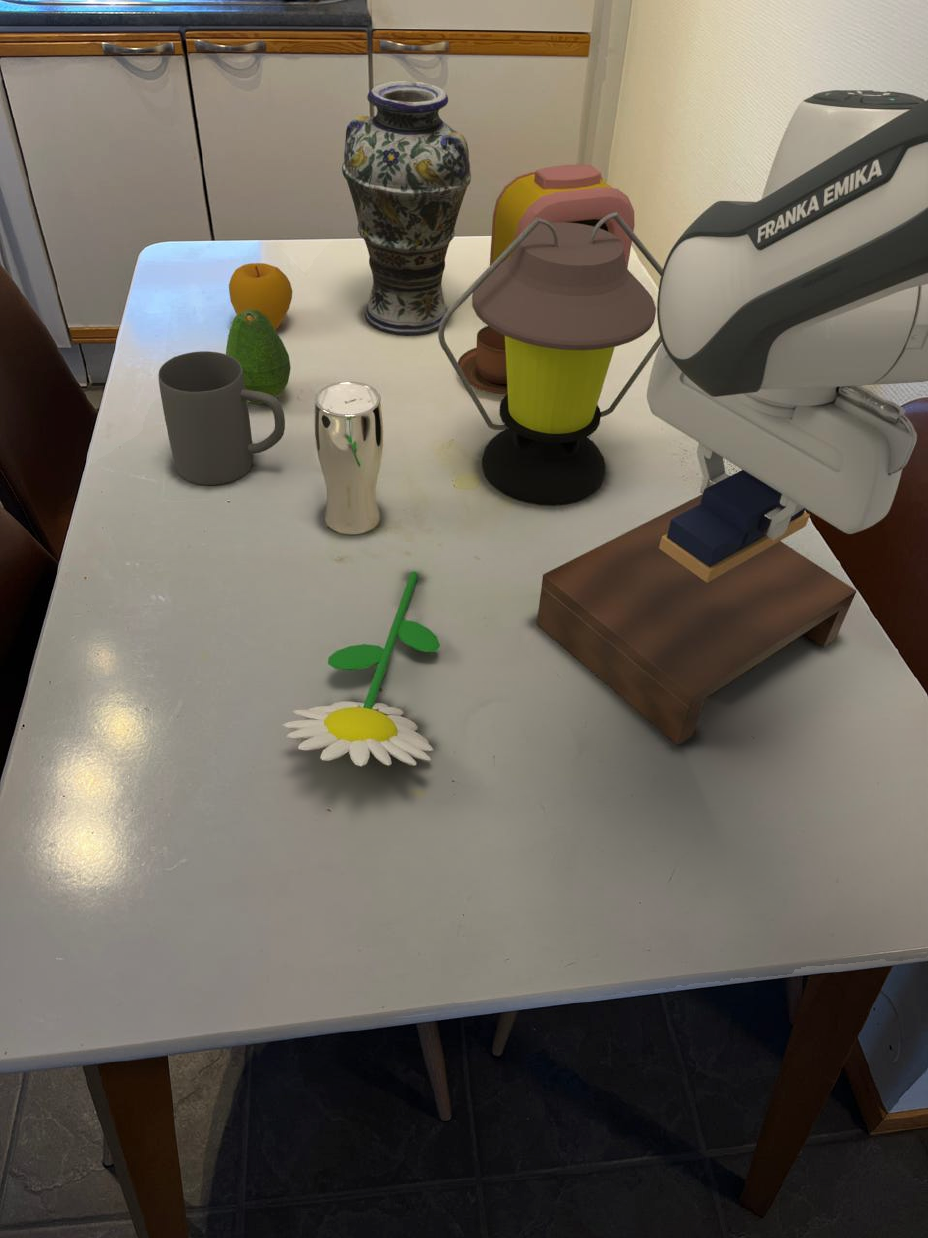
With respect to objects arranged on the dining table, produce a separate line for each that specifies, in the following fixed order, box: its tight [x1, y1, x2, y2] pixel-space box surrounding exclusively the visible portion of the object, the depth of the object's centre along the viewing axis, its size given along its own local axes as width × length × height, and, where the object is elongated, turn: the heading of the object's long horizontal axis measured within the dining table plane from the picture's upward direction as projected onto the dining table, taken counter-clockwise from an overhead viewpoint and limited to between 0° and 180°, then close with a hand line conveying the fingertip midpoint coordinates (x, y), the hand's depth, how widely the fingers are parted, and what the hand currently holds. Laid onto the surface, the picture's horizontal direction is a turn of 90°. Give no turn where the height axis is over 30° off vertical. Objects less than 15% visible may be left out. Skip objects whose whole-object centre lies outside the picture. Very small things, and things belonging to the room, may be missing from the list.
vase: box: [341, 80, 472, 337], centre depth 132 cm, size 17×17×30 cm
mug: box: [157, 350, 286, 486], centre depth 108 cm, size 14×9×12 cm
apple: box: [228, 262, 293, 330], centre depth 134 cm, size 8×8×9 cm
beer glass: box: [314, 381, 384, 536], centre depth 101 cm, size 7×7×15 cm
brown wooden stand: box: [536, 493, 857, 746], centre depth 94 cm, size 19×23×6 cm
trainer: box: [659, 469, 811, 583], centre depth 75 cm, size 12×5×6 cm, turn 128°
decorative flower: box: [282, 571, 441, 767], centre depth 88 cm, size 13×5×30 cm
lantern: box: [437, 212, 663, 506], centre depth 105 cm, size 25×19×30 cm
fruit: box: [225, 310, 292, 405], centre depth 119 cm, size 8×8×12 cm
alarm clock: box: [489, 164, 635, 269], centre depth 140 cm, size 18×11×19 cm, turn 112°
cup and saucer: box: [457, 325, 508, 395], centre depth 128 cm, size 12×12×6 cm
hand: (740, 513), depth 75 cm, fingers closed on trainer, 4 cm apart
